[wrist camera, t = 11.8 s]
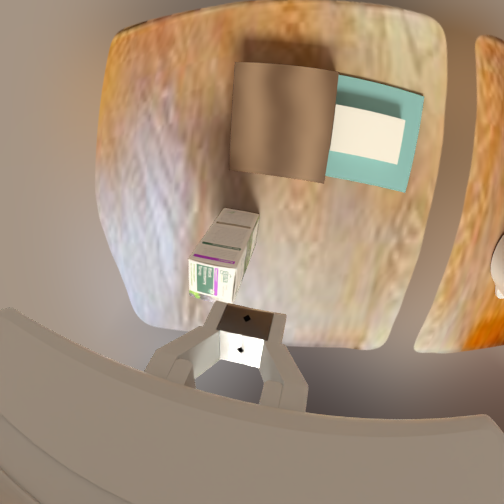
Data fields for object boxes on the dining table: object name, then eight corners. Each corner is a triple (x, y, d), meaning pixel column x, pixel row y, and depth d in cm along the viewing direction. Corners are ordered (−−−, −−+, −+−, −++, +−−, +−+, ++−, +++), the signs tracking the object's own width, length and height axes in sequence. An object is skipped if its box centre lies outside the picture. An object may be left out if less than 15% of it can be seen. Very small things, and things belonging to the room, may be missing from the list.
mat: (423, 96, 28) (424, 96, 27) (404, 191, 35) (405, 192, 35) (336, 74, 29) (336, 74, 29) (323, 174, 37) (323, 175, 37)
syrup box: (223, 206, 43) (184, 257, 31) (261, 213, 42) (236, 269, 30) (221, 239, 46) (185, 296, 34) (257, 246, 45) (232, 308, 33)
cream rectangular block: (401, 118, 30) (405, 120, 28) (393, 161, 33) (397, 164, 32) (334, 103, 31) (335, 104, 30) (329, 147, 35) (329, 150, 33)
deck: (336, 74, 29) (338, 72, 26) (323, 174, 37) (323, 183, 34) (243, 65, 31) (235, 62, 28) (237, 162, 39) (229, 170, 35)
